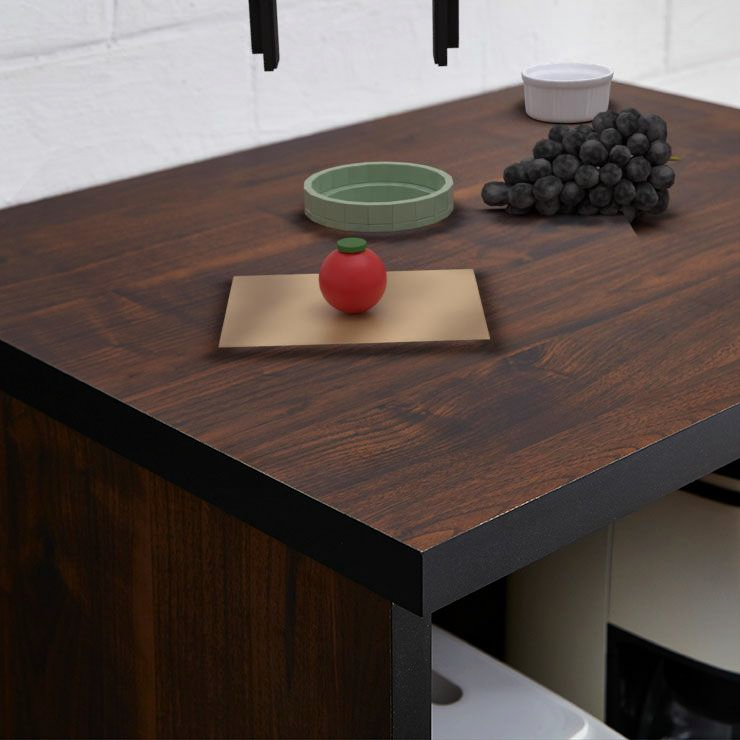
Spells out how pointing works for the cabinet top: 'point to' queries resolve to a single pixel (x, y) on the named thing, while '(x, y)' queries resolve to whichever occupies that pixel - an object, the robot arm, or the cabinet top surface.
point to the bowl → (378, 196)
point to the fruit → (592, 169)
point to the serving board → (377, 325)
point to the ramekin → (566, 91)
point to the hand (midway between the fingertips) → (356, 64)
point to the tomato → (352, 277)
